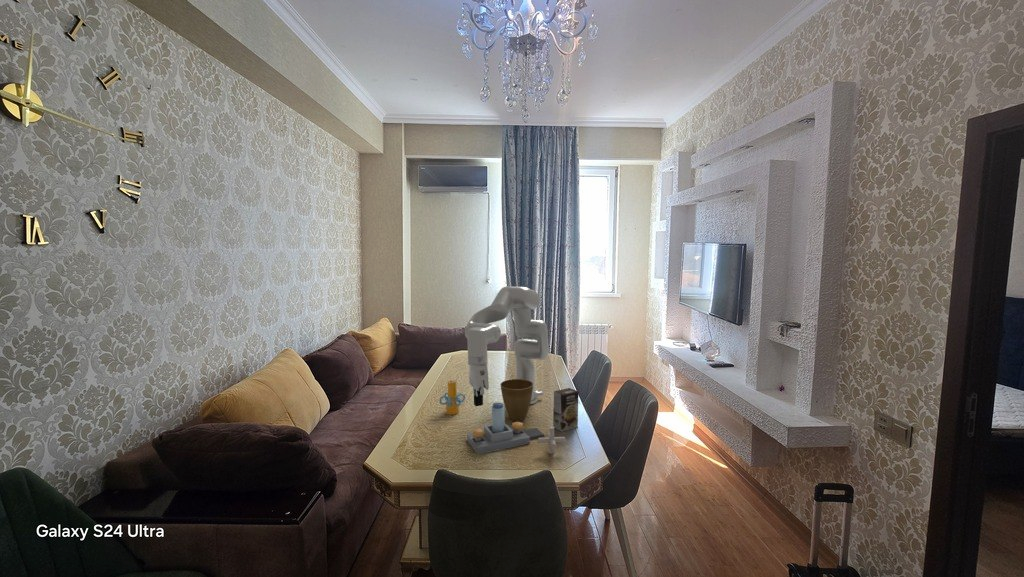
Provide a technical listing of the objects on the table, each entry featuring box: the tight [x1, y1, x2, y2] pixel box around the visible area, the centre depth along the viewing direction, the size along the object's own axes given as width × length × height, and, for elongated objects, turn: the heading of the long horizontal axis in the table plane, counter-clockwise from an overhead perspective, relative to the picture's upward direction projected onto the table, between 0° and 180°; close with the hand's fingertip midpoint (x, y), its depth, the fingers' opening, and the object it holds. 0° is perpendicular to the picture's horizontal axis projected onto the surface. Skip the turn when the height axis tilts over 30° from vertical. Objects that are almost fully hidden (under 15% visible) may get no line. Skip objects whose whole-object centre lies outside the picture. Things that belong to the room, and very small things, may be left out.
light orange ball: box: [511, 421, 524, 435], centre depth 179 cm, size 4×4×4 cm
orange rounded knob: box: [472, 428, 484, 443], centre depth 172 cm, size 4×4×4 cm
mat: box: [521, 427, 545, 440], centre depth 182 cm, size 7×7×1 cm
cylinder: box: [439, 379, 466, 416], centre depth 205 cm, size 12×10×15 cm
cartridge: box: [491, 402, 505, 433], centre depth 175 cm, size 5×5×13 cm
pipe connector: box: [537, 426, 566, 455], centre depth 166 cm, size 10×10×10 cm
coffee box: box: [552, 387, 579, 432], centre depth 189 cm, size 9×6×16 cm
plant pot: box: [500, 378, 533, 422], centre depth 199 cm, size 15×15×16 cm
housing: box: [466, 422, 531, 455], centre depth 175 cm, size 22×13×6 cm, turn 114°
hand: (478, 405), depth 171 cm, fingers closed
